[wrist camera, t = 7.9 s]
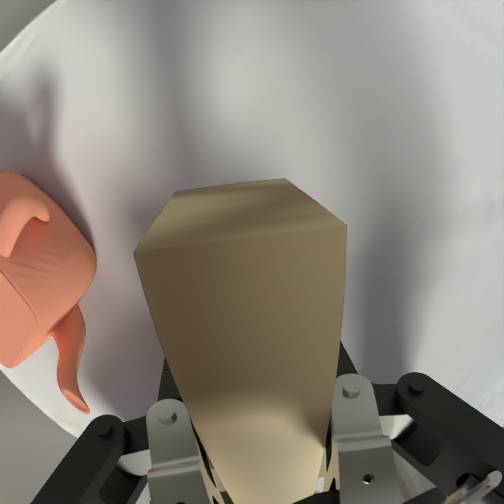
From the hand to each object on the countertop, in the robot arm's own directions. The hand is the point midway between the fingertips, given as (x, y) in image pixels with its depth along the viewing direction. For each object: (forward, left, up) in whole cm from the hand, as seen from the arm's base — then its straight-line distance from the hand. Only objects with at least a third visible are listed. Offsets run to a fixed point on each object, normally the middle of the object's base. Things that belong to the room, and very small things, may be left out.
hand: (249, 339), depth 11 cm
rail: (0, +2, 0) cm, 2 cm away
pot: (+21, 0, -15) cm, 26 cm away
